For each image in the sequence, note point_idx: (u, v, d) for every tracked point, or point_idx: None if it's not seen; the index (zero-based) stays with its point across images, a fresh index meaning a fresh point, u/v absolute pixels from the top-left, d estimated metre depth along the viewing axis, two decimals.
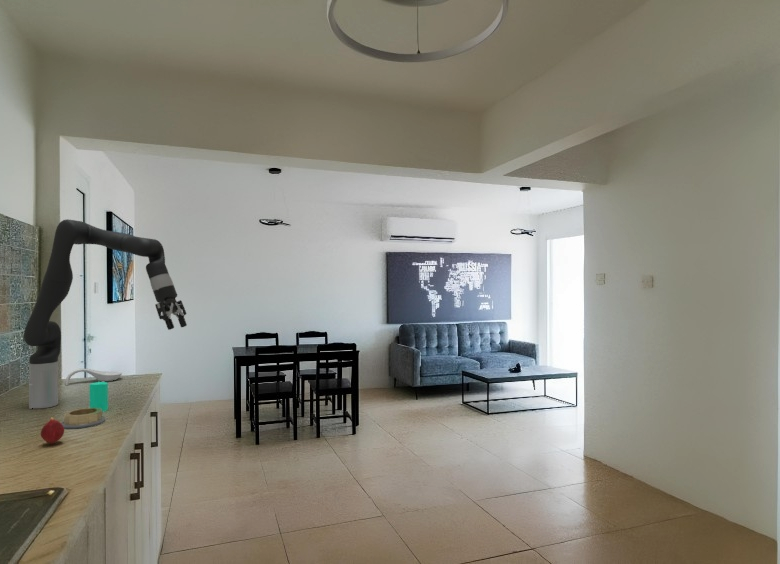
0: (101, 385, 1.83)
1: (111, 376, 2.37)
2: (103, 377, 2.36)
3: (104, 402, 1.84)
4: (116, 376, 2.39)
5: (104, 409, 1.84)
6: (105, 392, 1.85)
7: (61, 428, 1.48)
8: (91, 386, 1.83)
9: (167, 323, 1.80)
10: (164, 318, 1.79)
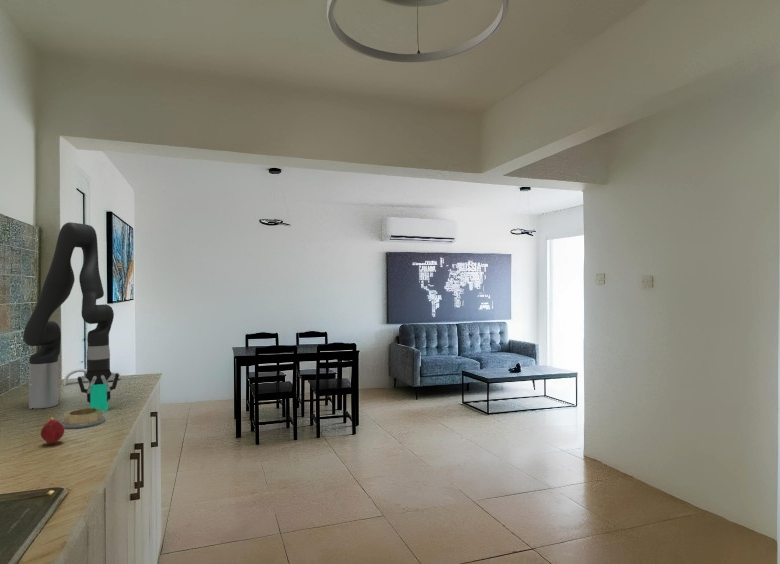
0: (101, 385, 1.83)
1: None
2: None
3: (104, 402, 1.84)
4: None
5: (104, 409, 1.84)
6: (105, 392, 1.85)
7: (61, 428, 1.48)
8: None
9: (87, 397, 1.83)
10: None
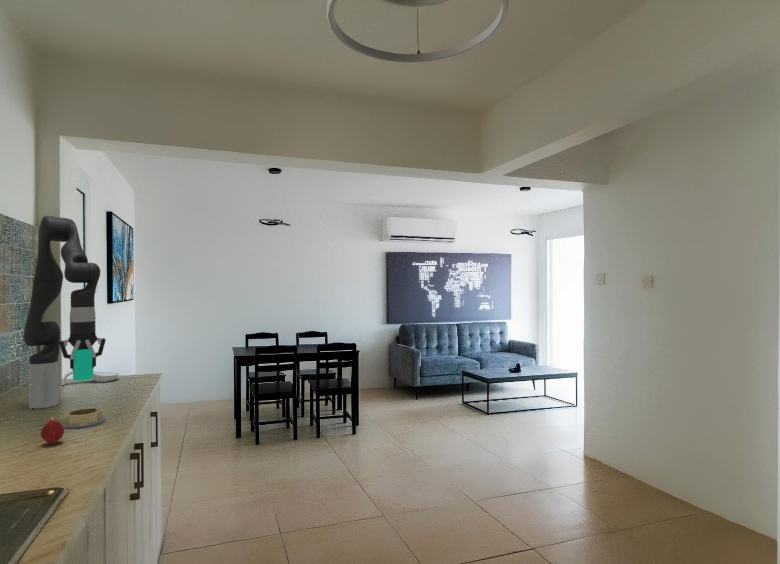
0: (85, 350, 1.67)
1: (107, 376, 2.35)
2: (99, 378, 2.34)
3: (89, 369, 1.68)
4: (112, 377, 2.37)
5: (89, 377, 1.68)
6: (90, 358, 1.69)
7: (61, 428, 1.48)
8: None
9: (70, 363, 1.67)
10: None
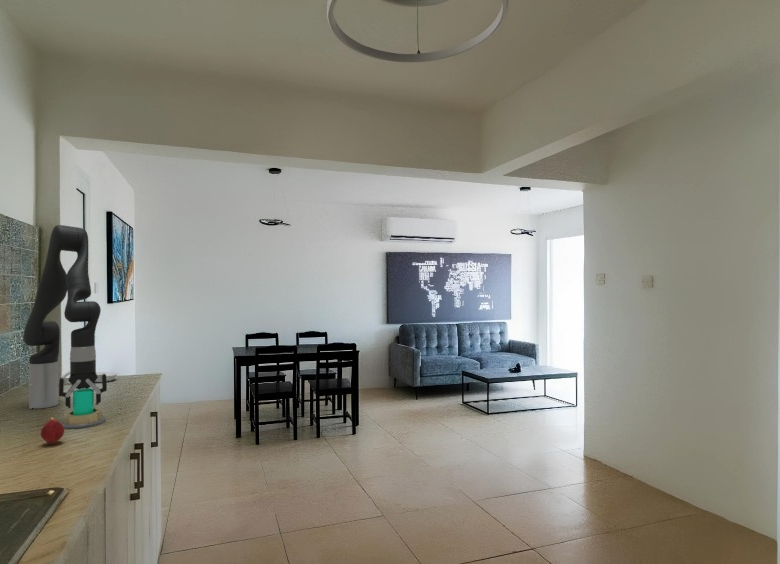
0: (86, 392, 1.67)
1: None
2: (97, 378, 2.34)
3: (89, 411, 1.68)
4: (111, 377, 2.37)
5: None
6: (90, 400, 1.69)
7: (61, 428, 1.48)
8: (75, 393, 1.67)
9: None
10: None
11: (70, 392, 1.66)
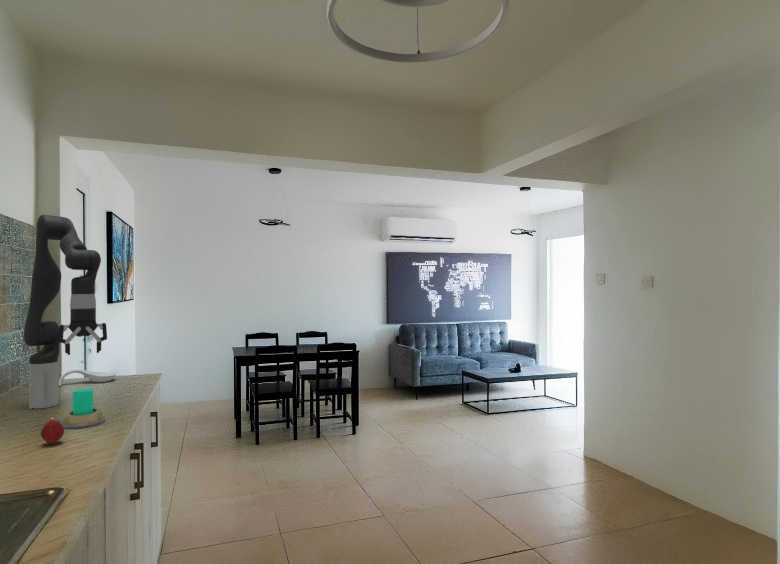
0: (85, 392, 1.67)
1: (104, 377, 2.34)
2: (96, 378, 2.33)
3: (89, 411, 1.68)
4: (110, 377, 2.37)
5: None
6: (90, 400, 1.69)
7: (61, 428, 1.48)
8: (74, 393, 1.67)
9: (65, 348, 1.67)
10: (61, 342, 1.66)
11: (70, 339, 1.67)
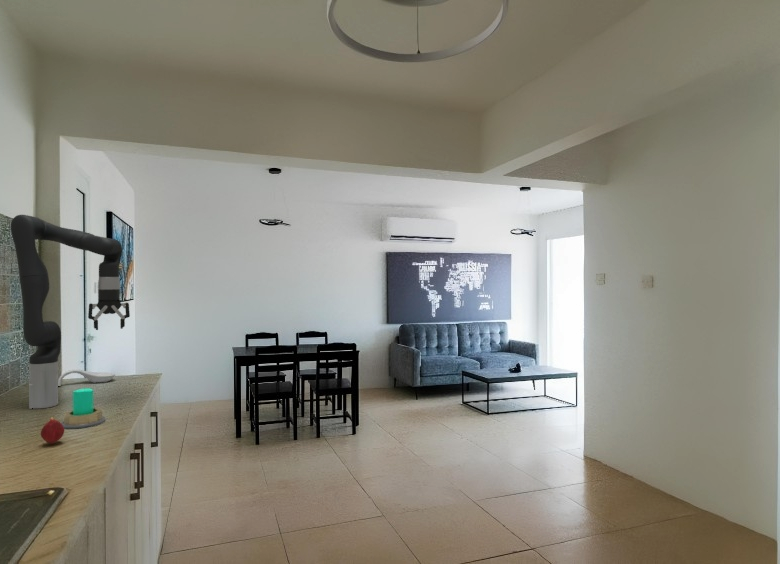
0: (85, 392, 1.67)
1: (103, 377, 2.34)
2: (96, 378, 2.33)
3: (89, 411, 1.68)
4: (109, 377, 2.36)
5: None
6: (90, 400, 1.69)
7: (61, 428, 1.48)
8: (74, 393, 1.67)
9: None
10: None
11: (98, 316, 1.91)
